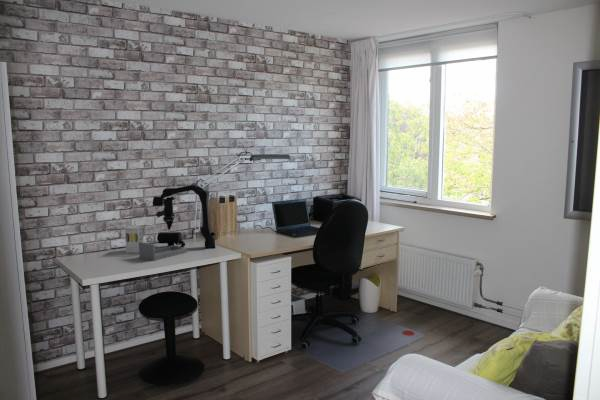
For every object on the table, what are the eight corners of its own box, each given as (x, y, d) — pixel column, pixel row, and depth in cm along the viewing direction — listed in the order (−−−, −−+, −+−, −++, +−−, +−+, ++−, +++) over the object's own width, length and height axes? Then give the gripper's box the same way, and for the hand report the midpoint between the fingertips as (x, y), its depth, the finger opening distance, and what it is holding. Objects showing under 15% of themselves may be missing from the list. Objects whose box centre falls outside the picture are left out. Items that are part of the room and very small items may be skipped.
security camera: (183, 247, 340) (182, 233, 338) (157, 248, 340) (156, 233, 339) (186, 245, 346) (185, 231, 345) (160, 246, 347) (159, 232, 346)
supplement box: (125, 252, 327) (124, 227, 325) (130, 249, 337) (128, 225, 334) (140, 252, 327) (138, 227, 325) (144, 249, 336) (143, 225, 334)
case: (172, 249, 335) (172, 235, 333) (187, 252, 326) (186, 237, 325) (139, 257, 313) (138, 242, 312) (153, 260, 305) (152, 244, 304)
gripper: (157, 205, 346) (159, 226, 348) (154, 208, 327) (156, 231, 329) (174, 204, 347) (175, 226, 349) (172, 208, 329) (173, 230, 331)
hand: (169, 228), depth 340 cm, fingers open, 9 cm apart
